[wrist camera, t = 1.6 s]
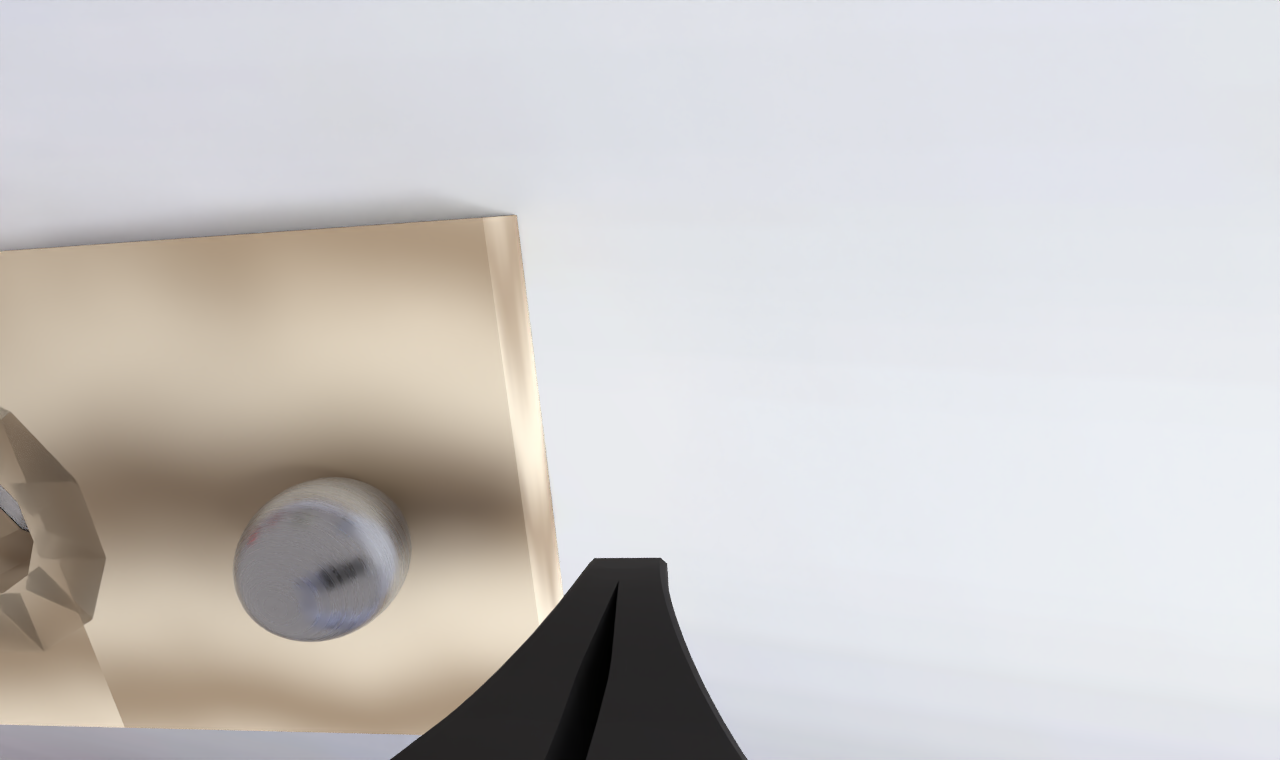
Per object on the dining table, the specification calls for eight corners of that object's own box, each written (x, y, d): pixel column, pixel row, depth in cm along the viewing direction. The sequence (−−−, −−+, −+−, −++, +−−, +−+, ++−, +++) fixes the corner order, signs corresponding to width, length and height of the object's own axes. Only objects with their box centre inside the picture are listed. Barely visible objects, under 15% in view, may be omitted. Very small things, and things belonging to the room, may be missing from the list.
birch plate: (572, 670, 19) (554, 738, 16) (-33, 662, 21) (-125, 721, 19) (516, 215, 15) (482, 218, 12) (-222, 266, 17) (-370, 277, 15)
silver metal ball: (446, 576, 15) (377, 681, 12) (319, 576, 16) (216, 679, 12) (423, 450, 14) (340, 527, 11) (287, 454, 15) (166, 530, 11)
